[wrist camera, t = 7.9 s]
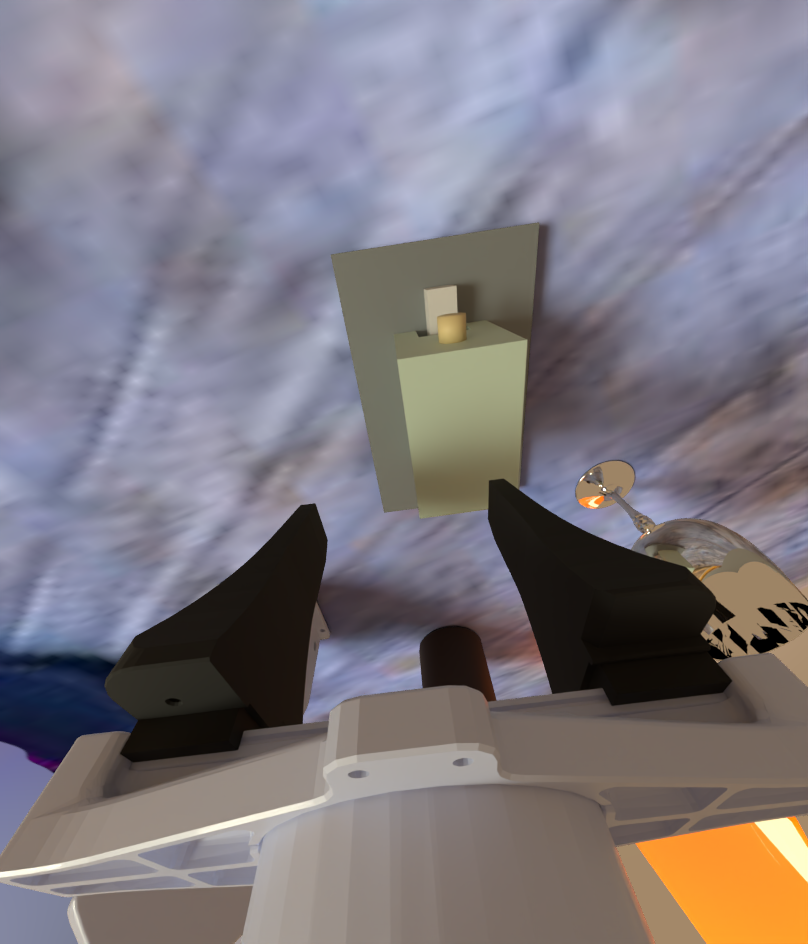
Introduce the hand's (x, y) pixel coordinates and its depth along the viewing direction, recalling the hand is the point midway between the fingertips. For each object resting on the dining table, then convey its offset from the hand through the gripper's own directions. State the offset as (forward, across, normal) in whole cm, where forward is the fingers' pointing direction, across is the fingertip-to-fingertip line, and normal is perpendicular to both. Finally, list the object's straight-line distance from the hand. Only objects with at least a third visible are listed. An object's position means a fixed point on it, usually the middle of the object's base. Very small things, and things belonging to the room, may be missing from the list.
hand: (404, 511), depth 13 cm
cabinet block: (+8, -3, -2) cm, 9 cm away
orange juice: (+10, -19, +29) cm, 36 cm away
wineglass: (+9, -15, +7) cm, 19 cm away
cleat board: (+9, -3, -2) cm, 10 cm away
